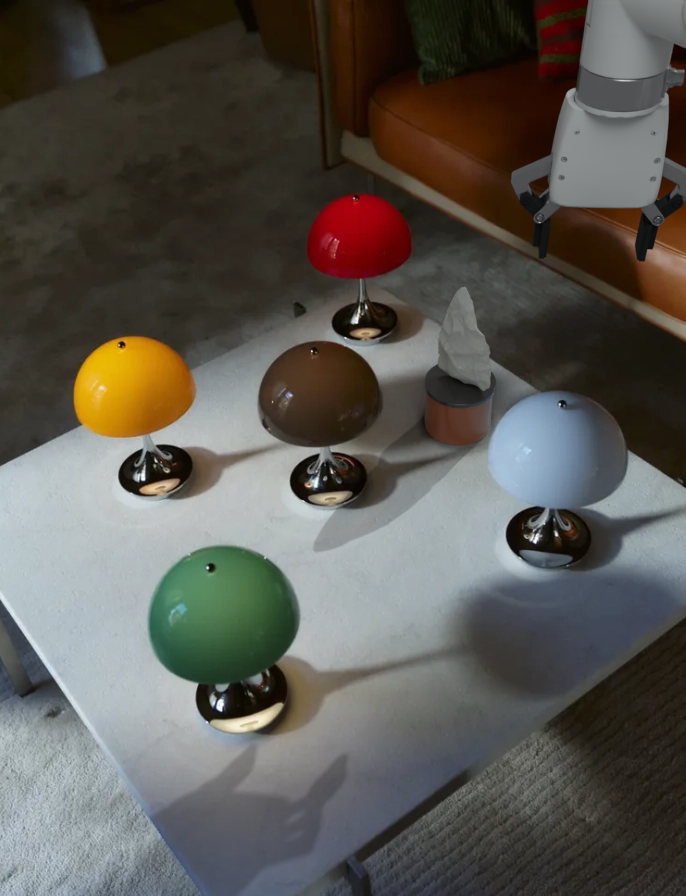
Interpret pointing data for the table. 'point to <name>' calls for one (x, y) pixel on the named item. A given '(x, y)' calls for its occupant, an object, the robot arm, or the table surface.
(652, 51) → the robot arm
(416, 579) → the table surface
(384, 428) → the table surface
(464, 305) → the stone tool
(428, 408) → the canister
